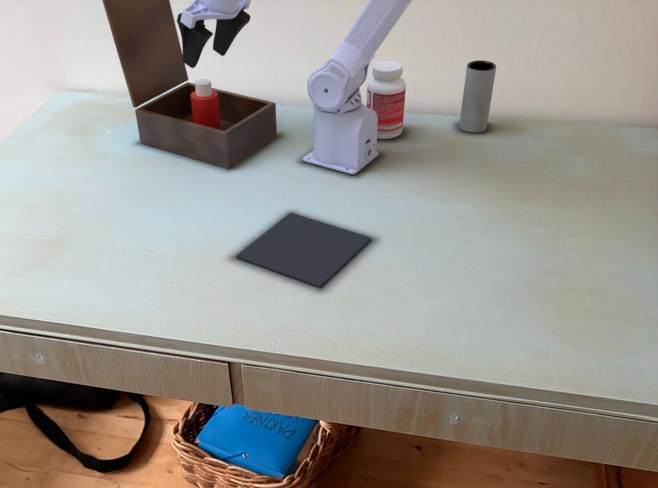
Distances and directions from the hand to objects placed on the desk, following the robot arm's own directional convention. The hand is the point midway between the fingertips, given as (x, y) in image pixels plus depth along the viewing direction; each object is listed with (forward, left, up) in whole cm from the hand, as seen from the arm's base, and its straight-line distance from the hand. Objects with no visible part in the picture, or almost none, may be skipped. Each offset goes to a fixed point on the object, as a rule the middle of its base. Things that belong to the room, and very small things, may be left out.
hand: (204, 58), depth 118 cm
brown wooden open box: (0, +1, -13) cm, 13 cm away
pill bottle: (-24, -16, -13) cm, 32 cm away
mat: (-32, +21, -13) cm, 41 cm away
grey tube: (-36, -25, -13) cm, 46 cm away
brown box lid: (+10, +1, +3) cm, 11 cm away
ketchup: (0, +1, -12) cm, 12 cm away
